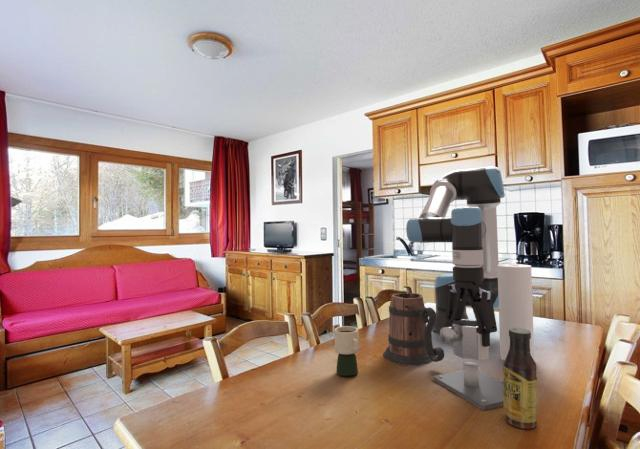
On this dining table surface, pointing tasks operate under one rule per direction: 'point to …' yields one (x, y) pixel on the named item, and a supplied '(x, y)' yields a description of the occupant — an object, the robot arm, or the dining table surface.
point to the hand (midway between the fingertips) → (470, 353)
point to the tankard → (411, 331)
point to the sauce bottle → (520, 381)
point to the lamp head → (462, 338)
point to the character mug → (346, 349)
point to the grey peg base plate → (473, 386)
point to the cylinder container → (514, 303)
